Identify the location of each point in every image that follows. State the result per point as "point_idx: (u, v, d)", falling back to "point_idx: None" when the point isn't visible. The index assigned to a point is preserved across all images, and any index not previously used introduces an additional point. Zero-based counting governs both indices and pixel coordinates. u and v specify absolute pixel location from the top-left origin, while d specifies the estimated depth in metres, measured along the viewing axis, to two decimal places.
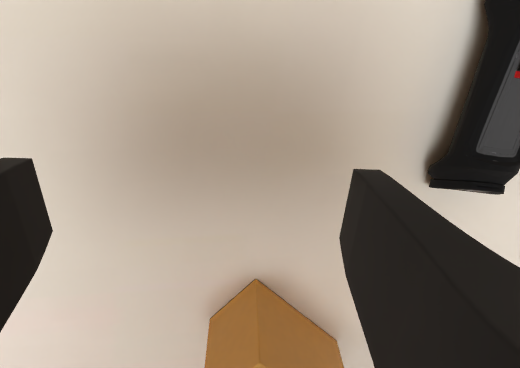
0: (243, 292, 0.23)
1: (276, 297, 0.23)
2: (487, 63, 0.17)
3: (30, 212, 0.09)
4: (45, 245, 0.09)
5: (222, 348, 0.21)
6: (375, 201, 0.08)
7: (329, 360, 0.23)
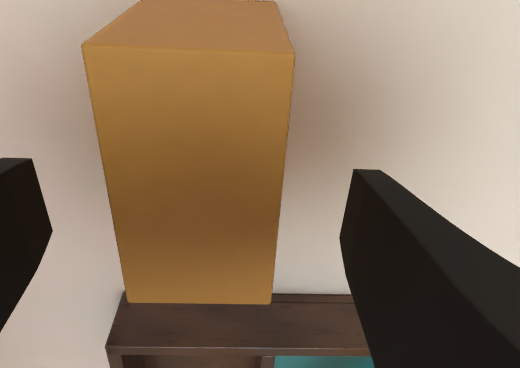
0: (243, 1, 0.12)
1: None
2: None
3: (30, 212, 0.09)
4: (45, 245, 0.09)
5: (176, 18, 0.10)
6: (375, 201, 0.08)
7: None
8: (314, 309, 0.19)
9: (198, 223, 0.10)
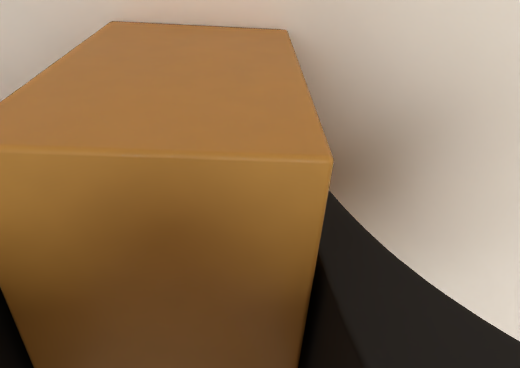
0: (243, 30, 0.09)
1: None
2: None
3: None
4: None
5: (139, 69, 0.06)
6: None
7: None
8: None
9: None
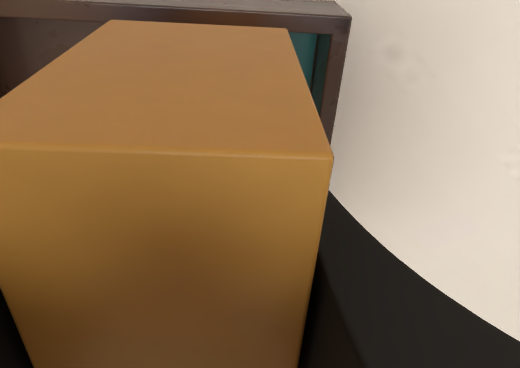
0: (243, 28, 0.09)
1: None
2: None
3: None
4: None
5: (139, 66, 0.06)
6: None
7: None
8: None
9: None
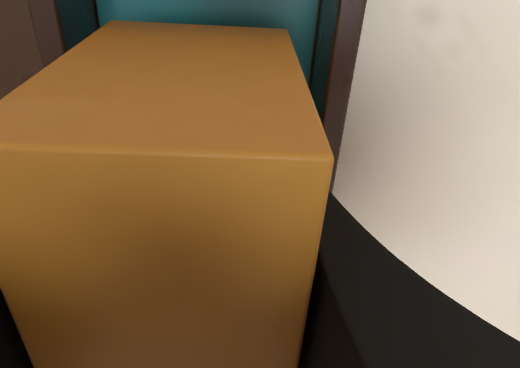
0: (243, 28, 0.09)
1: None
2: None
3: None
4: None
5: (139, 66, 0.06)
6: None
7: None
8: None
9: None
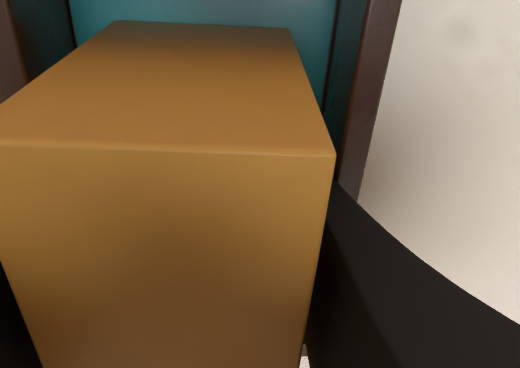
0: (246, 28, 0.09)
1: None
2: None
3: None
4: None
5: (144, 65, 0.06)
6: None
7: None
8: None
9: None
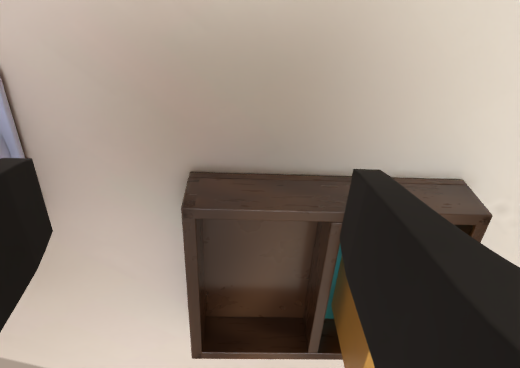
0: None
1: None
2: None
3: (30, 212, 0.09)
4: (45, 245, 0.09)
5: None
6: (375, 201, 0.08)
7: None
8: None
9: None
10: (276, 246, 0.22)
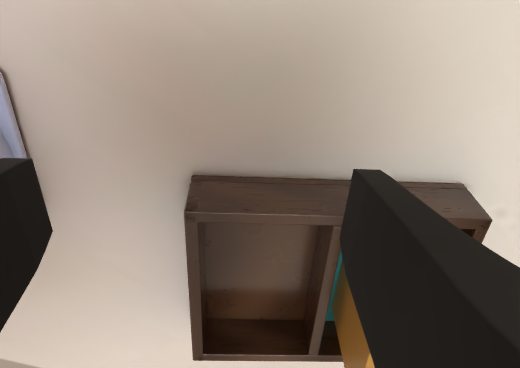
0: None
1: None
2: None
3: (30, 212, 0.09)
4: (45, 245, 0.09)
5: None
6: (375, 201, 0.08)
7: None
8: None
9: None
10: (277, 249, 0.22)
